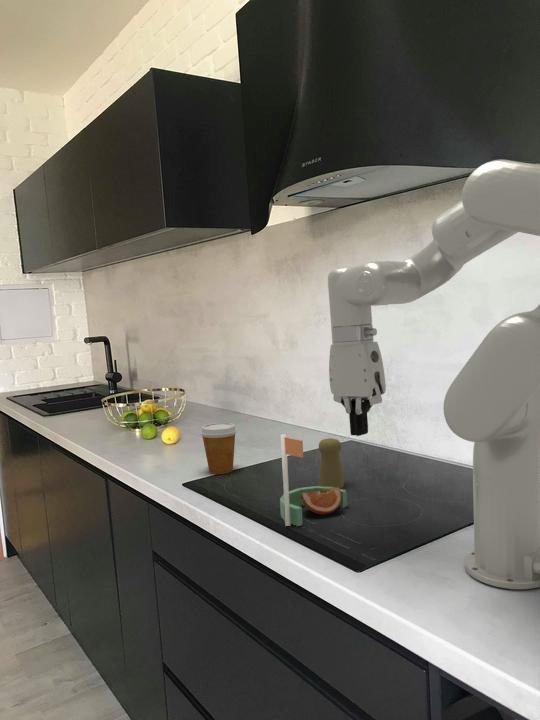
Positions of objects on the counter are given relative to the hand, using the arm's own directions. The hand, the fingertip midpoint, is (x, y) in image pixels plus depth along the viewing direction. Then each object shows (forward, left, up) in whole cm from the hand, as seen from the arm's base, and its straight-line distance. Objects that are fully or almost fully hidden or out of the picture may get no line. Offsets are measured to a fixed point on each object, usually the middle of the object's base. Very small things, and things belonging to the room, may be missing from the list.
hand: (359, 434), depth 109 cm
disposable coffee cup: (+53, -7, -18) cm, 57 cm away
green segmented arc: (+13, +1, -18) cm, 22 cm away
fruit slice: (+12, -1, -19) cm, 22 cm away
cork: (+22, -16, -18) cm, 33 cm away
